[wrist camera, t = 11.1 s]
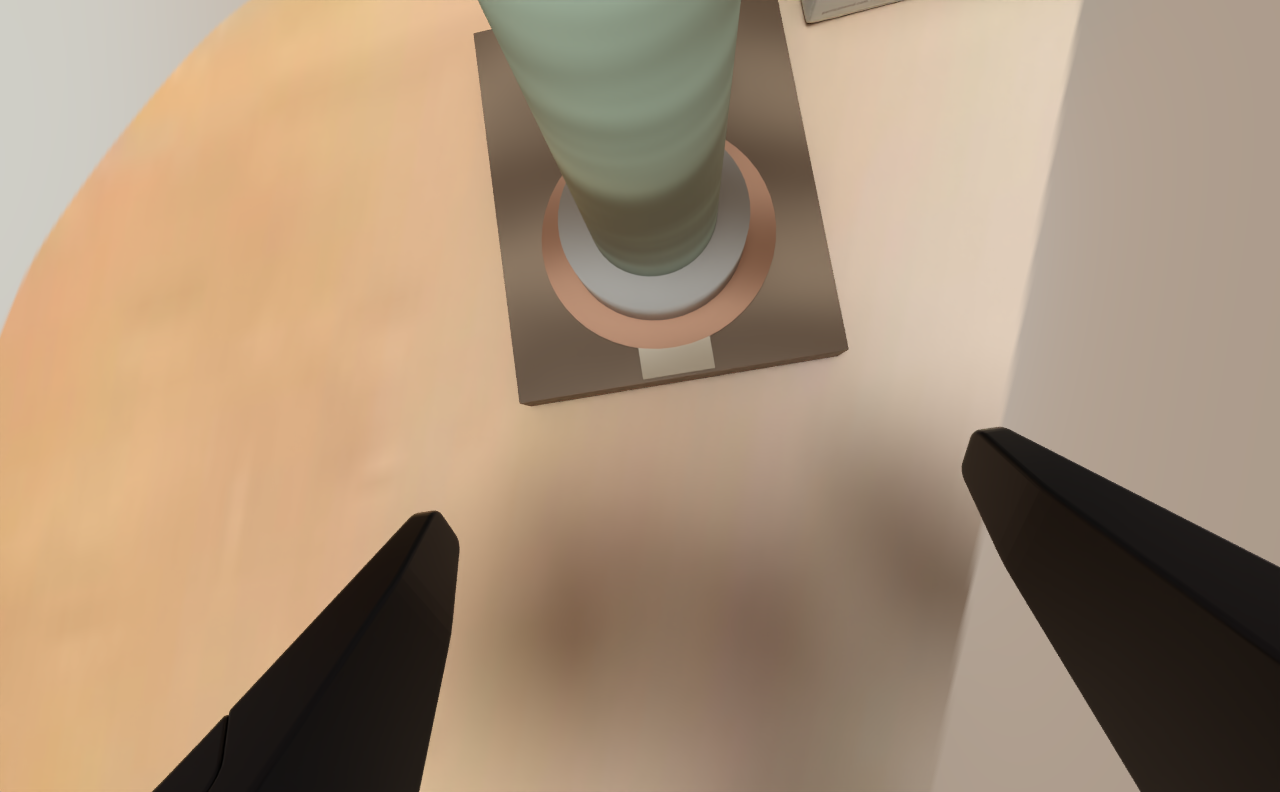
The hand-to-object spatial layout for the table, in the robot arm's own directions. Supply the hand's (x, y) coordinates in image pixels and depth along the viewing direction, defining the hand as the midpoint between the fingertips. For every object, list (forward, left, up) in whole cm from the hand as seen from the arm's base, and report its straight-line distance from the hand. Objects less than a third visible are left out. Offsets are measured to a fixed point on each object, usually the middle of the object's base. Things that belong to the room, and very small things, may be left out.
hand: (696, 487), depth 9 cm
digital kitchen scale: (+9, -4, -9) cm, 14 cm away
